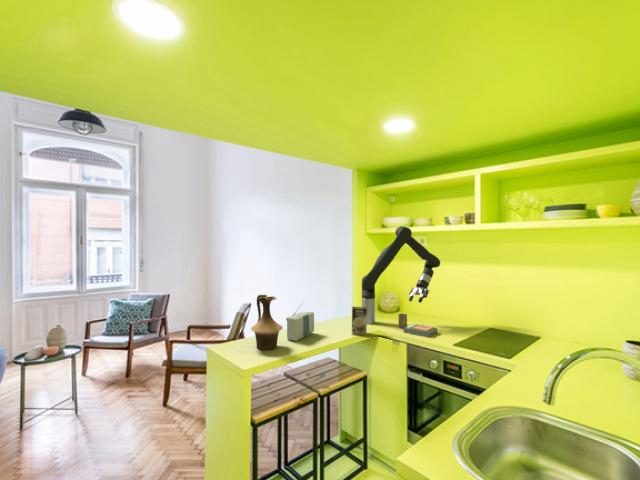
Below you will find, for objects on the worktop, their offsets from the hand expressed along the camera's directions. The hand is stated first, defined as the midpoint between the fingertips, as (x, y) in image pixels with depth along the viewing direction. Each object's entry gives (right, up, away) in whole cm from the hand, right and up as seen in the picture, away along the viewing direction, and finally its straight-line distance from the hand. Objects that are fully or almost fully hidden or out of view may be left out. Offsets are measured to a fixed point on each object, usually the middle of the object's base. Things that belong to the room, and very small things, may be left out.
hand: (414, 301), depth 217 cm
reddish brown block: (-10, -16, -6) cm, 20 cm away
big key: (0, -14, -20) cm, 24 cm away
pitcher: (-93, -16, -47) cm, 105 cm away
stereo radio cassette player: (-76, -16, -27) cm, 82 cm away
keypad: (-2, -16, -18) cm, 24 cm away
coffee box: (-40, -16, -20) cm, 48 cm away
